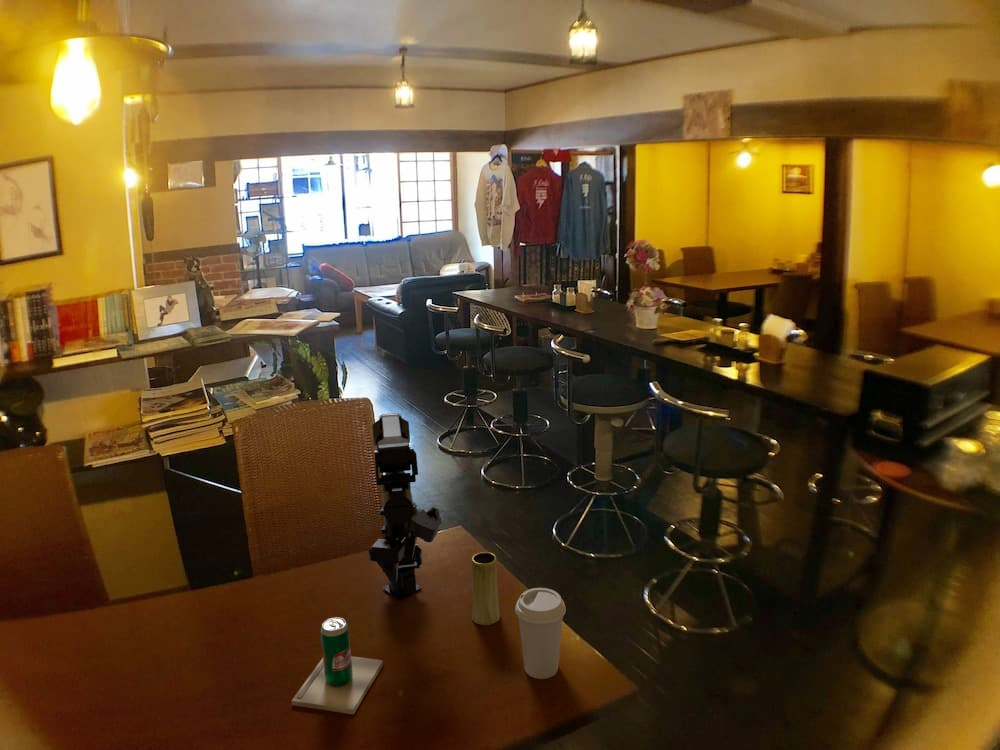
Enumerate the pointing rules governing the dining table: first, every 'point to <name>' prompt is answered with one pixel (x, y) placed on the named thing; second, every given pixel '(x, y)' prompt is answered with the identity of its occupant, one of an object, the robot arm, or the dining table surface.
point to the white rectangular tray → (342, 697)
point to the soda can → (336, 651)
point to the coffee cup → (540, 630)
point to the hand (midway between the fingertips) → (402, 571)
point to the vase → (485, 589)
